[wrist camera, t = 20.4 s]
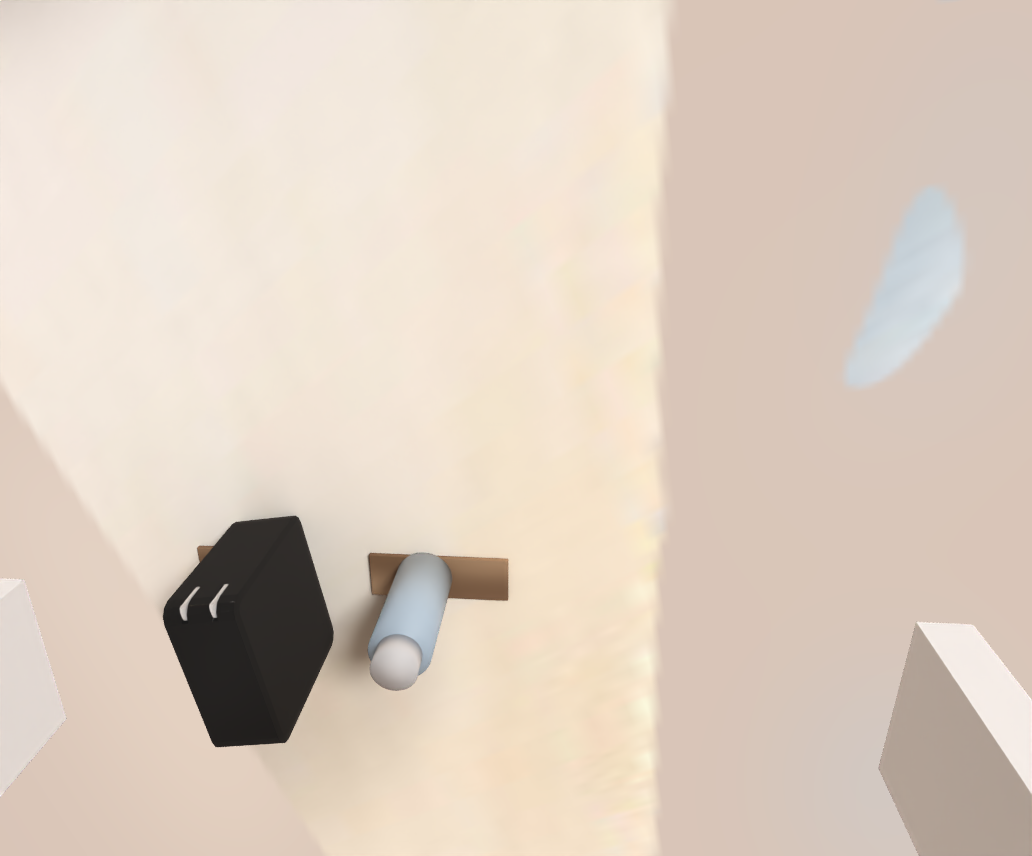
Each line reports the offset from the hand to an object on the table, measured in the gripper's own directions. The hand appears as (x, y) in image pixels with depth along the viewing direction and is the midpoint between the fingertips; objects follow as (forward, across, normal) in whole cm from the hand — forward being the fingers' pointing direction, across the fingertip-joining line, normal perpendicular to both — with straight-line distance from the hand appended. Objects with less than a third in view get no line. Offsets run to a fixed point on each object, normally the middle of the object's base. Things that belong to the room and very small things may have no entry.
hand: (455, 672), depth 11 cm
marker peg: (+31, -7, -20) cm, 38 cm away
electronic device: (+32, -17, -21) cm, 42 cm away
